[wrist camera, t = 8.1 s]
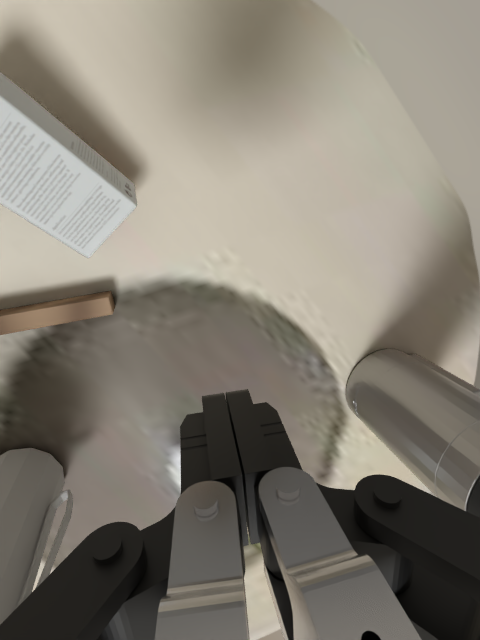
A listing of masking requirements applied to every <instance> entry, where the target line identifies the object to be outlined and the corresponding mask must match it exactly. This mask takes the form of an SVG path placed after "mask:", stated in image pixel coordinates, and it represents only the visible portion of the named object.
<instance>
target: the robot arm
mask: <svg viewBox="0 0 480 640" xmlns="http://www.w3.org/2000/svg"><path fill="white" fill-rule="evenodd" d="M346 398H347V403H348V405H349V407H350V409H351V410H352V411H353V413H354V414H355V415H356V416H357V417H358V418H359V419H360V420H361V421H362V422H363V423H364V424H365V425H366V426H367V427H368V428H369V429H370V430H371V431H372V432H373V433H374V434H375V435H376V436H377V437H378V438H379V439H380V440H381V441H382V442H383V443H384V444H385V445H386V446H387V447H388V448H389V449H390V450H391V451H392V452H393V453H394V454H395V455H396V456H397V457H398V458H399V459H400V460H401V461H402V462H403V463H404V464H405V465H406V466H407V467H408V468H409V469H410V470H411V471H412V472H413V473H414V475H415V476H416V477H417V478H418V479H419V480H420V481H421V482H422V483H423V484H424V485H425V486H426V487H427V488H428V489H429V490H430V491H431V492H432V493H433V494H434V495H435V496H437V497H435V496H433V495H431V494H429V493H427V492H424V491H422V490H420V489H418V488H416V487H414V486H412V485H410V484H408V483H406V482H403V481H401V480H399V479H397V478H394V477H391V476H387V475H371V476H367V477H365V478H363V479H362V480H360V481H359V482H358V484H357V485H356V488H355V490H344V489H334V488H329V487H325V486H322V485H320V484H318V483H316V482H315V481H314V479H313V478H312V477H311V476H310V475H309V474H308V473H306V472H304V471H303V470H302V468H301V465H300V463H299V461H298V458H297V456H296V454H295V452H294V449H293V447H292V445H291V442H290V440H289V438H288V435H287V433H286V431H285V428H284V426H283V424H282V421H281V419H280V417H279V415H278V412H277V410H275V409H274V408H273V407H272V406H270V405H269V404H268V403H267V402H265V403H258V404H253V402H252V399H251V396H250V393H249V391H248V389H246V390H240V391H233V392H226V399H225V395H224V393H220V394H214V395H207V396H202V403H203V412H202V413H195V414H189V415H187V416H186V417H185V419H184V421H183V423H182V424H181V426H180V436H181V495H180V497H179V498H178V500H177V503H176V506H175V508H174V509H173V510H172V511H171V513H169V514H168V515H167V516H166V517H165V518H163V519H162V520H160V521H159V522H157V523H155V524H153V525H151V526H149V527H147V528H145V529H143V530H141V531H140V530H139V529H138V528H137V527H136V526H134V525H133V524H130V523H127V522H114V523H110V524H107V525H104V526H102V527H100V528H98V529H97V530H95V531H94V532H92V533H91V534H90V535H89V536H87V537H86V538H85V539H84V540H83V541H82V542H81V543H80V544H79V545H78V546H77V547H76V548H75V549H74V550H73V551H72V552H71V553H70V554H69V556H68V557H67V558H66V559H65V560H64V561H63V562H62V563H61V564H60V565H59V566H58V567H57V568H56V569H55V570H54V571H53V572H52V573H51V574H50V575H49V576H48V577H47V578H46V579H45V580H44V581H43V582H42V583H41V584H40V585H39V586H38V587H37V588H36V589H35V590H34V591H33V592H32V593H31V594H30V595H29V596H28V597H27V598H26V599H25V600H24V601H23V602H22V603H21V604H20V605H19V606H18V607H17V608H16V609H15V610H14V611H13V612H12V613H11V614H10V615H9V616H8V617H7V618H6V619H5V620H4V621H3V622H2V623H1V624H0V640H250V639H249V628H248V617H247V607H246V596H245V585H244V575H245V558H244V548H243V546H246V545H248V534H247V527H248V532H249V537H250V542H251V544H255V543H260V544H261V549H262V553H263V558H264V572H265V576H266V580H267V583H268V586H269V590H270V593H271V596H272V600H273V603H274V606H275V610H276V613H277V616H278V620H279V623H280V626H281V630H282V633H283V636H284V640H480V389H478V388H476V387H475V386H473V385H471V384H469V383H467V382H466V381H464V380H462V379H460V378H458V377H457V376H455V375H453V374H451V373H449V372H448V371H446V370H444V369H442V368H441V367H439V366H437V365H435V364H433V363H432V362H430V361H428V360H426V359H424V358H423V357H421V356H419V355H417V354H411V355H408V354H406V353H404V352H402V351H400V350H396V349H383V350H379V351H376V352H374V353H372V354H370V355H368V356H367V357H365V358H364V359H363V360H362V361H361V362H360V363H359V364H358V365H357V366H356V367H355V369H354V370H353V371H352V373H351V375H350V377H349V380H348V383H347V387H346ZM246 522H247V523H246Z"/></svg>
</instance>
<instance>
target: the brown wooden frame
mask: <svg viewBox="0 0 480 640" xmlns="http://www.w3.org/2000/svg"><path fill="white" fill-rule="evenodd" d="M114 309H115V304H114V300H113V296H112V292H111V291H107V292H101V293H95V294H89V295H84V296H78V297H72V298H66V299H61V300H55V301H49V302H43V303H38V304H32V305H26V306H20V307H15V308H9V309H3V310H0V335H3V334H9V333H14V332H19V331H25V330H30V329H36V328H41V327H46V326H52V325H57V324H62V323H68V322H73V321H79V320H84V319H89V318H95V317H100V316H106V315H111V314H113V312H114Z"/></svg>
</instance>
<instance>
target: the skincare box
mask: <svg viewBox="0 0 480 640" xmlns="http://www.w3.org/2000/svg"><path fill="white" fill-rule="evenodd" d="M0 204H1V205H3V206H5V207H6V208H8V209H9V210H11V211H13V212H14V213H16V214H17V215H19V216H21V217H22V218H24V219H25V220H27V221H28V222H30V223H32V224H33V225H35V226H37V227H38V228H40V229H41V230H43V231H44V232H46V233H48V234H49V235H51V236H53V237H54V238H56V239H57V240H59V241H61V242H62V243H64V244H65V245H67V246H68V247H70V248H72V249H73V250H75V251H77V252H78V253H80V254H81V255H83V256H85V257H87V258H90V257H91V256H92V254H93V253H94V252H95V251H96V250H97V249H98V248H99V247H100V246H101V245H102V244H103V242H104V241H105V240H106V239H107V238H108V237H109V236H110V235H111V234H112V233H113V232H114V231H115V230H116V228H117V227H118V226H119V225H120V224H121V223H122V222H123V221H124V220H125V219H126V218H127V217H128V215H129V214H130V213H131V212H132V211H133V210H134V209H135V208H136V207H137V200H136V193H135V185H134V183H133V182H131V181H130V180H129V179H128V178H127V177H126V176H124V175H123V174H122V173H121V172H119V171H118V170H117V169H116V168H115V167H114V166H112V165H111V164H110V163H109V162H108V161H107V160H105V159H104V158H103V157H102V156H101V155H99V154H98V153H97V152H96V151H95V150H93V149H92V148H91V147H90V146H89V145H87V144H86V143H85V142H84V141H83V140H81V139H80V138H79V137H78V136H77V135H75V134H74V133H73V132H72V131H71V130H69V129H68V128H67V127H66V126H65V125H64V124H62V123H61V122H60V121H59V120H58V119H56V118H55V117H54V116H53V115H52V114H50V113H49V112H48V111H47V110H46V109H44V108H43V107H42V106H41V105H40V104H38V103H37V102H36V101H35V100H34V99H33V98H31V97H30V96H29V95H28V94H27V93H25V92H24V91H23V90H22V89H21V88H19V87H18V86H17V85H16V84H15V83H13V82H12V81H11V80H10V79H8V78H7V77H6V76H5V75H4V74H2V73H1V72H0Z"/></svg>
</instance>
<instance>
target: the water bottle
mask: <svg viewBox="0 0 480 640" xmlns="http://www.w3.org/2000/svg"><path fill="white" fill-rule="evenodd" d="M64 483H65V482H64V473H63V467H62V466H61V465H60V464H59V463H58V461H57V460H56V459H55V458H54V457H53V456H52V455H51V454H49V453H47V452H44V451H40V450H37V449H34V448H24V449H15V450H9V451H7V452H5V453H3V454H2V455H0V624H1V623H2V622H3V621H4V620H5V619H6V618H7V617H8V616H9V615H10V614H11V613H12V612H13V611H14V610H15V609H16V608H17V607H18V606H19V605H20V604H21V603H22V602H23V601H24V600H25V599H26V598H27V597H28V596H29V595H30V594H31V593H32V589H33V586H34V582H35V579H36V576H37V572H38V569H39V566H40V563H41V559H42V556H43V553H44V549H45V546H46V543H47V539H48V536H49V533H50V529H51V526H52V523H53V519H54V516H55V513H56V509H57V507H58V506H59V505H60V504H61V503H62V502H63V501H65V500H66V499H68V501H67V507H66V512H65V515H64V517H63V520H62V522H61V525H60V528H59V530H58V533H57V535H56V538H55V540H54V543H53V546H52V548H51V551H50V553H49V556H48V558H47V561H46V564H45V566H44V569H43V571H42V574H41V576H40V579H39V582H38V584H37V587H38V586H39V585H40V584H41V583H42V582H43V581H44V580H45V579H46V578H47V577H48V576H49V574H50V571H51V568H52V566H53V563H54V561H55V558H56V555H57V553H58V550H59V547H60V545H61V542H62V539H63V537H64V534H65V531H66V529H67V526H68V524H69V521H70V518H71V513H72V507H73V498H72V494H71V492H70V490H66V491H63V492H62V489H63V486H64ZM37 587H36V588H37Z"/></svg>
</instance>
